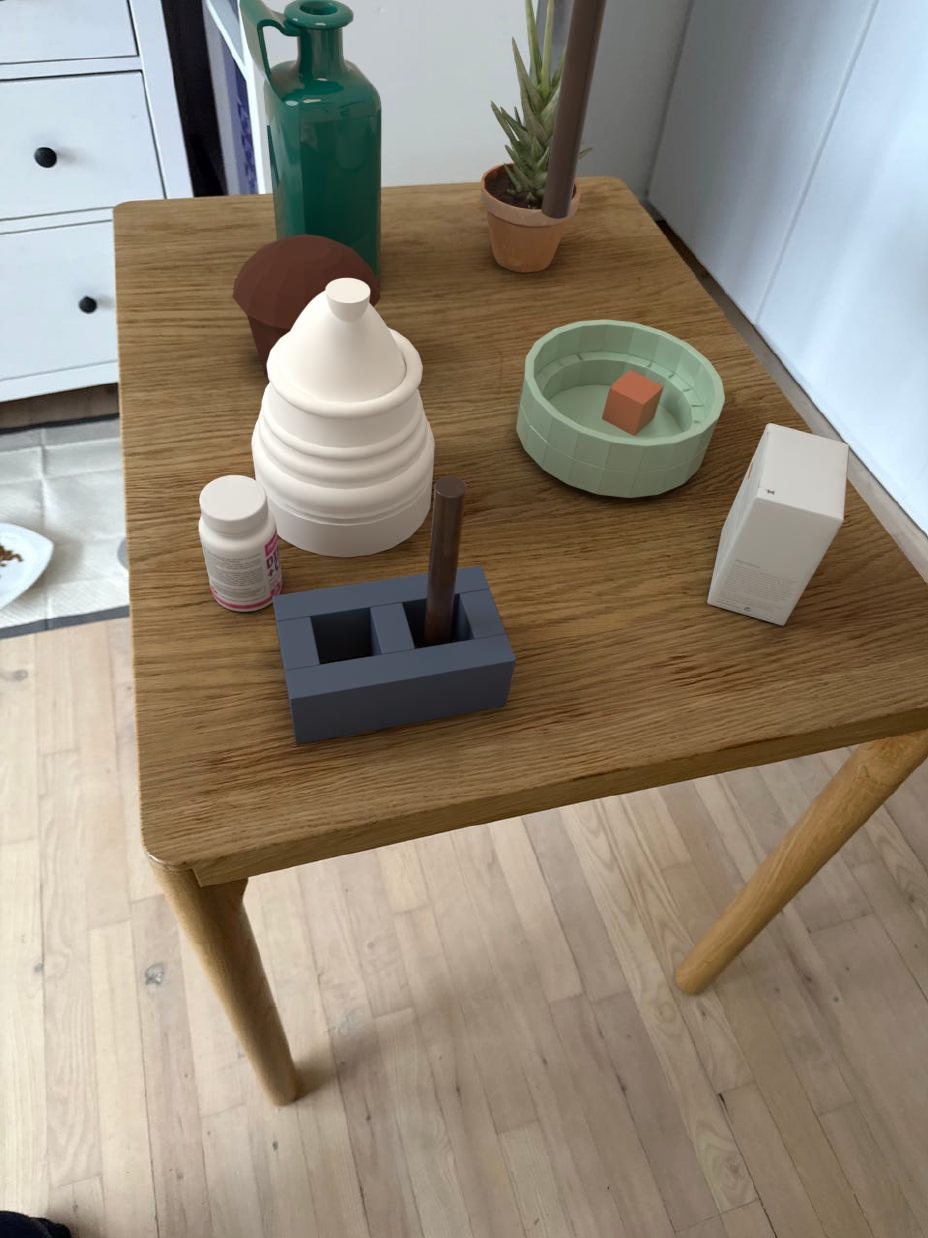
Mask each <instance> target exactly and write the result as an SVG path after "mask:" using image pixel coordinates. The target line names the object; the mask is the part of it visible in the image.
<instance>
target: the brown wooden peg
mask: <svg viewBox="0 0 928 1238" xmlns="http://www.w3.org/2000/svg"><path fill="white" fill-rule="evenodd" d="M466 495H467V484H466V483H465V481H464V480H463V479H461V478H460V477H457V476H453V475H445V476H442V477H440V478H439V479H437V480H436V481H435V483H434V491H433V507H432V518H431V519H432V520H431V530H430V531H431V534H430V546H429V559H428V571H427V573H428V584H427V597H426V611H425V624H424V637H423V646H422V648H425V647H431V646H437V645H443V644H449V643H450V642H449V637H450V629H451V620H452V611H453V602H454V593H455V584H456V575H457V569H458V565H459V557H460V548H461V539H462V532H463V531H462V530H463V522H464V512H465V504H466Z"/></svg>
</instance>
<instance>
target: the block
mask: <svg viewBox="0 0 928 1238" xmlns="http://www.w3.org/2000/svg"><path fill="white" fill-rule="evenodd" d="M662 391H663V386H662V385H660V384H658V383H656V382H654V381H652V380H650V379H648V378H646V377H644V376H642V375H640V374H638V373H636V372H634V371H632V370H629V371H628V372H627V373H626V374H625V375H623V376H622V377H621V378H620V379H619V380H618V381H616V382H615V383H614V384H613V385H612V386H611V387H610V388H609V392H608V396H607V400H606V404H605V408H604V412H603V416H602V419H603V420H605V421H607V422H609V423H611V424H613V425H614V426H616V427H618V428H620V429H622V430H624V431H626V432H627V433H629V434H631V435H633V436H635V435H636V434H637V433H638V432H639V431H640V430H642V429H643V428H644V427H645V426H646V425H647V424H648V423H649V422H650V421H651V420H652V419H653V418H654V416H655V413H656V410H657V407H658V403H659V400H660V397H661V394H662Z"/></svg>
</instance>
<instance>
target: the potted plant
mask: <svg viewBox="0 0 928 1238" xmlns="http://www.w3.org/2000/svg"><path fill="white" fill-rule="evenodd" d="M524 7H525V21H526V22H525V23H526V31H527V32H526V33H527V42H528V52H529V59H530V67H531V74H532V81H531V78H530V76H529V74H528V71H527V69H526V66H525V64H524V62H523V58H522V56H521V54H520V53H521V52H520V51H519V47H518V45H517V42H516V40H515V37H514V36H511V46H512V53H513V57H514V59H513V60H514V63H515V68H516V69H515V70H516V76H517V79H518V80H517V81H518V86H519V89H520V90H519V95H520V104H521V110H522V114H523V119H524V123H525V126H524V125H523V123H522V120H521V118H520V115H519V112H518V107H517V106H515V105H514V106H513V111H514V118H513V117H512V116H511V115H510V114H509V113H508V112H507V110H505V108H503V107H502V106H500V107H499V108H498V106H497V105H496V104H495V102H493V100H490V107H491V110H492V112H493V114H494V116H495V118H496V120H497V122H498V124H499V125H500V127H501V129H502V131H504V133H505V134H506V136H507V137H508V139H509V143H510V146H511V147H510V146H509V145H508V144H506V143H505V144H504V148H505V150H506V152H507V155H508V156H509V158H510V159H511V160H512V162H507V163H505V162H503V163H502V164H497V165H495V166H493V167H491V168H489V169H488V170H487V171H485V172H483V174H482V176H481V178H480V201H481V204H482V206H483V208H484V209H485V213H486V217H487V224H488V228H489V229H488V230H489V235H490V240H491V249H492V254H493V257H494V259H495V262H496V263H497V265H499V266H501V267H502V268H504V269H506V270H509V271H511V272H515V273H522V274H523V273H533V272H534V273H536V272H539V271H543V270H545V269H546V268H548V267H549V266H550V264H551V263H552V261H553V258H554V256H555V253H556V251H557V249H558V246H559V244H560V242H561V239H562V237H563V235H564V233H565V231H566V229H567V225H568V224H569V221H570V219H571V218H572V217H573V216H574V215H575V214H576V213H577V211H578V209H579V204H580V200H581V191H582V187H581V185H580V182H579V181H578V179H577V178H575V183H574V188H573V194H572V200H571V205H570V211H569V215H568V216H567V217H565V218H562V219H554V218H550V217H547V216H546V215H544V214H543V213H542V210H541V209H542V202H543V196H544V189H545V183H546V176H547V169H548V163H549V156H550V150H551V143H552V137H553V130H554V124H555V117H556V111H557V104H558V97H559V91H560V84H561V78H562V71H563V65H564V58H565V52H566V45H567V42H566V43H565V45H564V48H563V51H562V52H561V56H560V58H559V60H558V63H557V65H556V68H555V70H554V74H553V75H552V78H551V69H552V68H551V65H552V62H551V61H552V43H553V27H554V13H555V11H554V10H555V0H548V3H547V9H546V19H545V20H546V21H545V29H544V38H543V50H542V51H543V53H542V54H541V51H540V44H539V37H538V36H539V35H538V32H537V30H538V29H537V25H536V19H535V12H534V5H533V0H524ZM541 55H542V56H541ZM596 72H597V69H596V68H595V71H594V76H593V79H594V78H595V75H596ZM532 82H533V83H532ZM585 142H586V140H585V139H584V138H582V144H581V146H582V145H583V144H584V143H585ZM593 149H594V148H593V147H591V146H590V147H589V148H586V149H584V150H583V151H580V155H579V160H578V162H579V161H580V160H581V159H582V158H584V157H585V156H586V155H587V154H588V153H590V152H591V151H593Z"/></svg>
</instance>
